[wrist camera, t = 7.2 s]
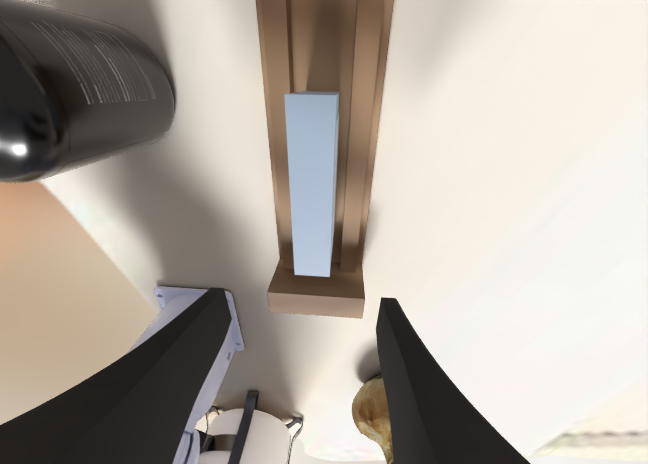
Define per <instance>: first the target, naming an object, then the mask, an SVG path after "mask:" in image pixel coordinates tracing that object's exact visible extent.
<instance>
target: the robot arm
mask: <svg viewBox="0 0 648 464" xmlns="http://www.w3.org/2000/svg"><path fill="white" fill-rule="evenodd" d="M154 293H155V295H156V297H157V299H158V301H159V304H160V306H161V308H162V311H161V312H160V313H159V314H158V315H157V317H156V318H155V319H154V320H153V322H152V323H151V324H150V325H149V327H148V328H147V329H146V330H145V331H144V333H143V334H142V335H141V336H140V338H139V339H138V340H137V341H136V342H135V344H134V345H133V346H132V347H131V349H130V350H129V351H128V352H127V354H126V355H124V356H123V357H121V358H120V359H119V360H117V361H116V362H114V363H112V364H111V365H109V366H108V367H106V368H104V369H103V370H101V371H99V372H98V373H96V374H94V375H93V376H91V377H90V378H88V379H86V380H85V381H83V382H81V383H80V384H78V385H76V386H74V387H73V388H71V389H69V390H67V391H65V392H64V393H62V394H60V395H58V396H56V397H55V398H53V399H51V400H49V401H47V402H45V403H43V404H42V405H40V406H38V407H36V408H34V409H32V410H30V411H28V412H26V413H24V414H22V415H20V416H18V417H16V418H14V419H12V420H10V421H8V422H6V423H4V424H2V425H0V464H197V463H198V459H199V453H200V436H199V433H198V431H197V430H195V429H194V428H195V426H196V423H197V421H199V420H200V419H201V418H202V417H203V416H204V415H205V414H206V413H207V411H208V410H209V409H210V407H211V406H212V404H213V402H214V400H215V398H216V396H217V393H218V391H219V388H220V386H221V384H222V381H223V379H224V376H225V374H226V372H227V369H228V367H229V364H230V362H231V360H232V357H233V355H234V352H235V351H238V352H241V351H243V350H244V343H243V339H242V335H241V331H240V327H239V322H238V318H237V314H236V310H235V306H234V302H233V297H232V294H231V293H230V292H229V291H224V288H210V289H209V290H207V289H192V288H178V287H163V286H157V287H156V288H155V289H154ZM376 334H377V347H378V355H379V361H380V366H381V372H382V377H383V382H384V388H385V393H386V399H387V404H388V410H389V417H390V426H391V436H392V446H393V457H394V464H530V463H529V462H528V461H527V460H526V459H525V458H524V457H523V456H522V455H521V454H520V453H519V452H518V451H517V450H516V449H515V448H514V447H513V446H512V445H511V444H509V443H508V442H507V441H506V440H505V439H504V438H503V437H502V436H501V435H500V434H499V433H498V432H497V431H496V429H495V428H494V427H493V426H492V425H491V424H490V423H489V422H488V421H487V420H486V419H485V418H484V417H483V416H482V415H481V414H480V413H479V412H478V411H477V410H476V408H475V407H474V406H473V405H472V404H471V403H470V402H469V401H468V400H467V398H466V397H465V396H464V395H463V394H462V393H461V392H460V390H459V389H458V388H457V387H456V386H455V385H454V383H453V382H452V381H451V380H450V379H449V377H448V376H447V375H446V374H445V372H444V371H443V370H442V368H441V367H440V366H439V364H438V363H437V362H436V360H435V359H434V358H433V356H432V355H431V354H430V352H429V351H428V349H427V348H426V347H425V345H424V344H423V342H422V341H421V339H420V338H419V336H418V335H417V333H416V332H415V330H414V328H413V327H412V325H411V324H410V322H409V320H408V319H407V317H406V315H405V314H404V312H403V310H402V308H401V306H400V305H399V303H398V301H397V300H396V299H395V298H382V297H381V302H380V308H379V314H378V320H377V326H376Z"/></svg>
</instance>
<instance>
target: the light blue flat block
mask: <svg viewBox="0 0 648 464" xmlns="http://www.w3.org/2000/svg"><path fill="white" fill-rule="evenodd" d="M284 97H285V115H286V132H287V150H288V167H289V185H290V202H291V220H292V237H293V255H294V272H295V275H306V276H322V277H330V267H331V255H332V246H333V234H334V222H335V202H336V179H337V157H338V134H339V100H340V92H338V91H302V92H296V93H289V94H284Z"/></svg>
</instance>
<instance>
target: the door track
mask: <svg viewBox="0 0 648 464" xmlns="http://www.w3.org/2000/svg"><path fill="white" fill-rule="evenodd" d="M393 1H394V0H256V9H257V19H258V30H259V41H260V52H261V62H262V73H263V84H264V94H265V105H266V116H267V127H268V137H269V148H270V159H271V170H272V180H273V191H274V202H275V212H276V223H277V234H278V245H279V255H280V260H279V262H278V265H277V268H276V270H275V273H274V276H273V278H272V281H271V283H270V286H269V289H268V291H267V295H268V303H269V310H270V312H281V313H294V314H308V315H322V316H335V317H349V318H362V317H363V310H364V303H365V293H364V282H363V271H362V259H363V251H364V242H365V234H366V226H367V217H368V209H369V201H370V192H371V184H372V176H373V168H374V159H375V151H376V143H377V134H378V126H379V118H380V109H381V101H382V93H383V84H384V76H385V68H386V60H387V51H388V43H389V35H390V26H391V18H392V10H393ZM302 91H338V92H340V100H339V134H338V157H337V179H336V202H335V222H334V234H333V246H332V255H331V267H330V277H322V276H306V275H295V272H294V255H293V237H292V220H291V202H290V185H289V167H288V150H287V132H286V115H285V97H284V94H289V93H296V92H302Z"/></svg>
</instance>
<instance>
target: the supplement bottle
mask: <svg viewBox="0 0 648 464" xmlns="http://www.w3.org/2000/svg"><path fill="white" fill-rule="evenodd" d="M173 117H174V98H173V93H172V89H171V86H170V83H169V81H168V78H167V76H166V74H165V72H164V70H163V68H162V67H161V65H160V64H159V62H158V61H157V59H156V58H155V57H154V55H153V54H152V53H151V52H150V51H149V50H148V49H147V48H146V47H145V46H144V45H143V44H142V43H141V42H140V41H139V40H138V39H136V38H135V37H133V36H132V35H131V34H129V33H128V32H126V31H124V30H122V29H120V28H118V27H116V26H113V25H111V24H108V23H105V22H101V21H98V20H94V19H91V18H87V17H83V16H80V15H76V14H72V13H68V12H64V11H60V10H57V9H53V8H49V7H45V6H41V5H37V4H34V3H30V2H26V1H22V0H0V182H2V183H26V182H33V181H37V180H40V179H44V178H48V177H51V176H54V175H57V174H60V173H64V172H67V171H70V170H73V169H76V168H79V167H82V166H85V165H88V164H91V163H94V162H98V161H101V160H104V159H107V158H110V157H113V156H116V155H119V154H122V153H125V152H128V151H132V150H135V149H138V148H141V147H144V146H146V145H149V144H152V143H154V142H156V141H158V140H160V139H161V138H162V137H163V136H164V135H165V134H166V133H167V132H168V130H169V128H170V126H171V124H172V121H173Z"/></svg>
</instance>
